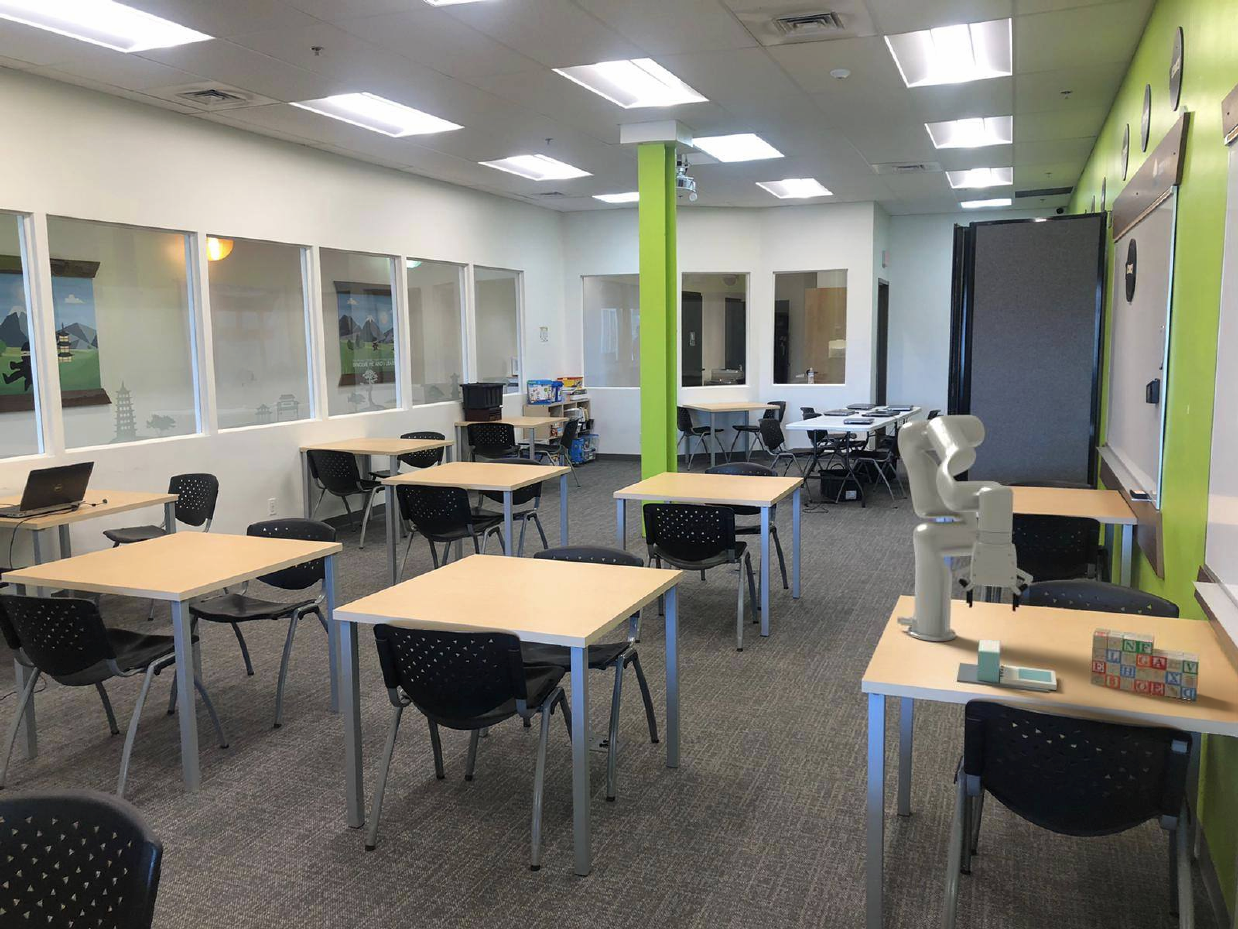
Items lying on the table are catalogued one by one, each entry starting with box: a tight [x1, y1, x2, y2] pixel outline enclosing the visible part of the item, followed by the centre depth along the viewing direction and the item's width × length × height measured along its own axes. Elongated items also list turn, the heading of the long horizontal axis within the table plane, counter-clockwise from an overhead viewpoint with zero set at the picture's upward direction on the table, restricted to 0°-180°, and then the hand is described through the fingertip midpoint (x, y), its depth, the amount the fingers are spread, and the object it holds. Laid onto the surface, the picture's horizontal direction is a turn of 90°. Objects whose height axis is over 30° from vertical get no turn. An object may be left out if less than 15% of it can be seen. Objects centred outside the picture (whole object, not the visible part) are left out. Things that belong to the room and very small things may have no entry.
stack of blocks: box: [1090, 627, 1200, 702], centre depth 215 cm, size 21×6×12 cm, turn 57°
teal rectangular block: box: [977, 638, 1002, 682], centre depth 224 cm, size 5×10×7 cm, turn 157°
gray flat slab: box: [956, 662, 1057, 694], centre depth 223 cm, size 22×13×2 cm, turn 67°
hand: (992, 608), depth 222 cm, fingers open, 9 cm apart
